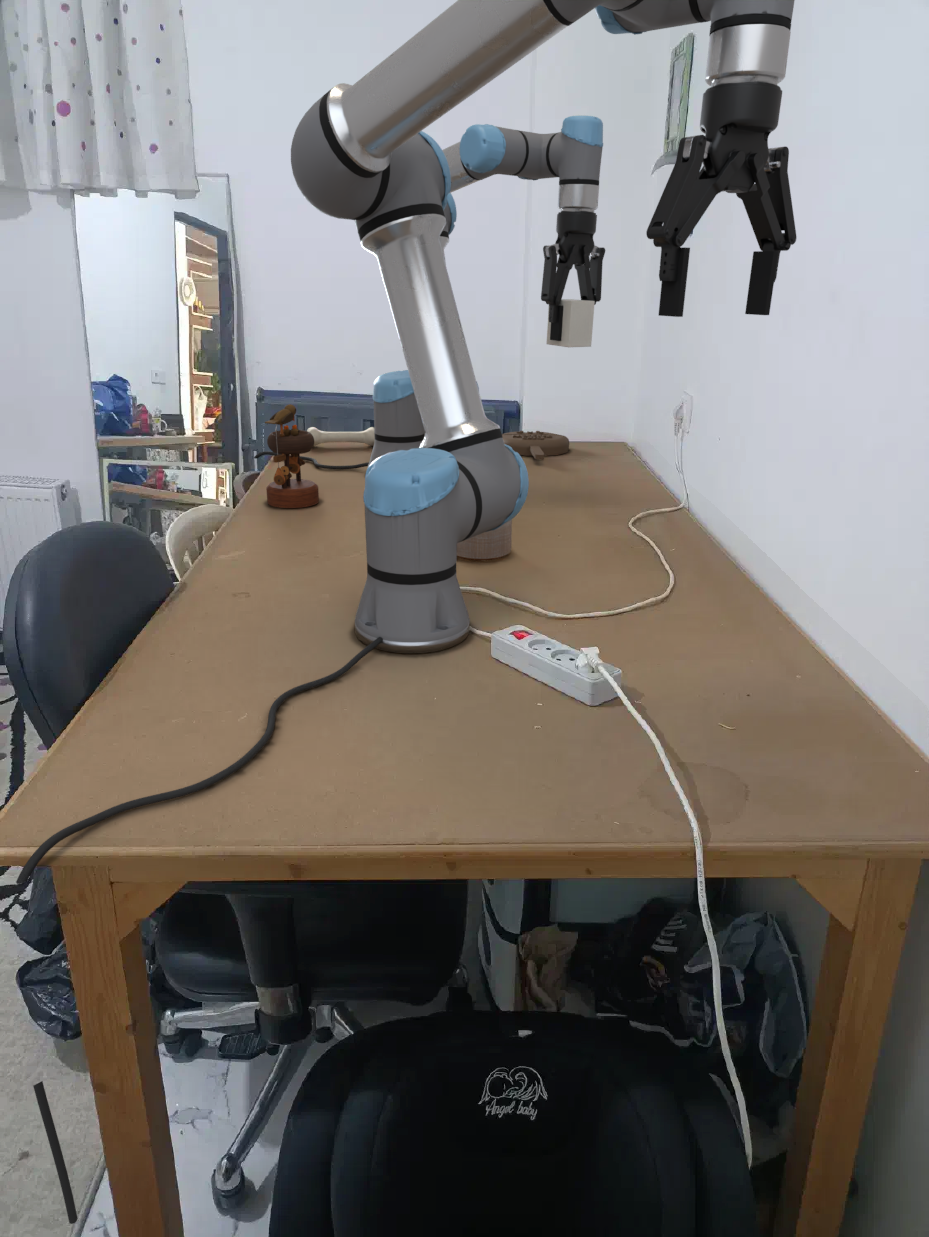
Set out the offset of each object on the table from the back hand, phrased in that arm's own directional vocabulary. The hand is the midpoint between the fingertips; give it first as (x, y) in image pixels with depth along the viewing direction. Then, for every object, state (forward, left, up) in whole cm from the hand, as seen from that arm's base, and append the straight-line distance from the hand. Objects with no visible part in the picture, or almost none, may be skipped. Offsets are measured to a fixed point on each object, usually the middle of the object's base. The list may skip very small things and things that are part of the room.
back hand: (568, 339), depth 168 cm
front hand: (+65, -47, +8) cm, 81 cm away
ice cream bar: (-37, +29, -32) cm, 57 cm away
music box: (-32, -46, -32) cm, 65 cm away
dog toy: (-76, -6, -32) cm, 83 cm away
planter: (+18, -38, -32) cm, 54 cm away
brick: (0, 0, -1) cm, 1 cm away
